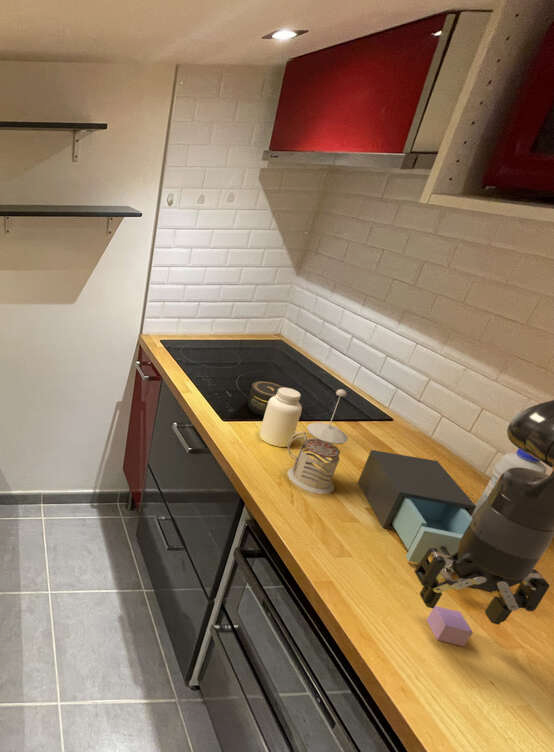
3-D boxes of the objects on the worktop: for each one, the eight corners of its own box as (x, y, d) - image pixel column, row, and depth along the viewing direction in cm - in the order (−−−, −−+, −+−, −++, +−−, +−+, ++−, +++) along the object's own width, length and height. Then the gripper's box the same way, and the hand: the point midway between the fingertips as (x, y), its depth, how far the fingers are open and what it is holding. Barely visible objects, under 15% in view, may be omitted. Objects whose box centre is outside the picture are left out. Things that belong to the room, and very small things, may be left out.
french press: (338, 499, 102) (375, 405, 92) (281, 485, 106) (311, 393, 96) (329, 473, 110) (363, 384, 100) (277, 461, 114) (304, 374, 104)
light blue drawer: (499, 601, 78) (521, 569, 75) (421, 582, 81) (438, 551, 78) (443, 524, 94) (459, 495, 91) (379, 511, 97) (392, 483, 94)
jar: (259, 399, 143) (264, 378, 140) (289, 413, 136) (296, 391, 132) (239, 406, 139) (245, 385, 136) (269, 422, 131) (276, 399, 128)
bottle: (462, 509, 100) (503, 434, 92) (501, 519, 97) (547, 443, 89) (473, 529, 94) (519, 452, 86) (516, 541, 92) (566, 462, 83)
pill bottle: (294, 439, 123) (310, 392, 117) (285, 451, 118) (301, 403, 112) (264, 427, 128) (277, 381, 122) (254, 439, 123) (267, 391, 117)
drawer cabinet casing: (455, 543, 91) (476, 506, 87) (382, 527, 94) (399, 491, 90) (420, 494, 104) (437, 460, 100) (357, 482, 107) (371, 449, 103)
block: (451, 626, 75) (460, 611, 73) (463, 646, 72) (473, 632, 70) (425, 619, 76) (434, 605, 74) (436, 639, 73) (445, 625, 71)
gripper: (461, 543, 63) (417, 619, 70) (590, 570, 59) (530, 647, 66) (434, 506, 70) (396, 579, 76) (548, 529, 66) (498, 603, 73)
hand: (458, 611), depth 71 cm, fingers open, 8 cm apart
